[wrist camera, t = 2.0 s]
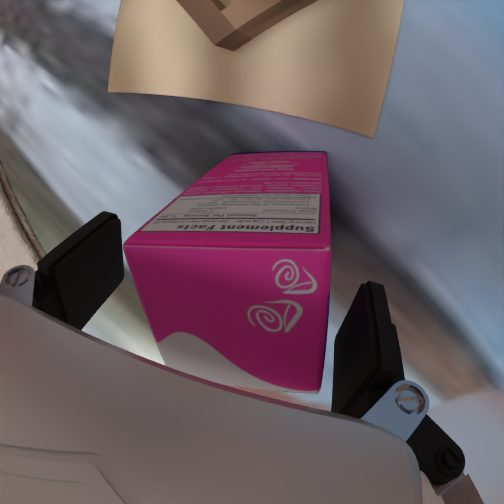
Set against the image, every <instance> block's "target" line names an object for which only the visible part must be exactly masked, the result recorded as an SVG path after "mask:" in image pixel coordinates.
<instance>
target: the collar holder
mask: <svg viewBox="0 0 504 504" xmlns="http://www.w3.org/2000/svg"><path fill="white" fill-rule="evenodd" d="M403 4H404V0H121V2H120V7H119V13H118V18H117V24H116V30H115V36H114V43H113V50H112V58H111V66H110V76H109V86H108V92H125V93H144V94H158V95H170V96H180V97H189V98H197V99H205V100H212V101H219V102H226V103H232V104H238V105H244V106H249V107H254V108H260V109H265V110H270V111H274V112H279V113H284V114H288V115H292V116H297V117H301V118H305V119H309V120H313V121H317V122H321V123H324V124H328V125H332V126H335V127H339V128H342V129H346V130H349V131H352V132H356V133H359V134H362V135H365V136H368V137H371V138H374V134H375V131H376V127H377V123H378V120H379V116H380V112H381V108H382V104H383V100H384V96H385V92H386V88H387V84H388V80H389V75H390V71H391V66H392V62H393V57H394V53H395V48H396V43H397V38H398V33H399V27H400V22H401V16H402V10H403Z"/></svg>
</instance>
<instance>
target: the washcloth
mask: <svg viewBox="0 0 504 504" xmlns="http://www.w3.org/2000/svg"><path fill="white" fill-rule="evenodd" d="M45 255H46V254H45V251H44V249H43V248H42V246H41V245H40V243H39V241H38V240H37V238H36V235H35V234H34V232H33V230H32V228H31V226H30V224H29V223H28V221H27V219H26V216H25V215H24V214H23V211H22V209H21V208H20V205H19V203H18V201H17V200H16V197H15V195H14V193H13V190H12V189H11V187H10V185H9V183H8V181H7V177H6V175H5V172H4V170H3V167H2V165H1V162H0V280H2V277H3V275H4V274H5V273H6V272H7V271H8V270H9V269H11V268H13V267H15V266H19V265H28V266H31V267H32V268H33V269H34V270H35V271H36V270H38V267H37V262H38V261H39V260H41V259H42V258H43V257H44V256H45Z"/></svg>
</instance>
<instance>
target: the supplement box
mask: <svg viewBox="0 0 504 504" xmlns="http://www.w3.org/2000/svg"><path fill="white" fill-rule="evenodd" d="M123 250H124V253H125V256H126V260H127V263H128V266H129V269H130V272H131V275H132V278H133V281H134V284H135V286H136V289H137V292H138V295H139V298H140V301H141V304H142V307H143V310H144V312H145V315H146V318H147V320H148V323H149V325H150V328H151V330H152V333H153V336H154V338H155V341H156V343H157V346H158V348H159V351H160V353H161V355H162V358H163V360H164V362H165V365H166V366H168V367H170V368H173V369H176V370H179V371H182V372H185V373H188V374H191V375H194V376H197V377H200V378H203V379H206V380H209V381H212V382H215V383H219V384H223V385H232V386H239V387H248V388H255V389H264V390H272V391H283V392H293V393H309V394H317V393H319V391H320V389H321V384H322V378H323V369H324V361H325V352H326V342H327V330H328V316H329V299H330V275H331V226H330V199H329V180H328V164H327V153H326V152H324V151H281V152H252V153H237V154H231V155H230V156H229V157H227V158H226V159H225V160H223V161H222V162H221V163H220V164H218V165H217V166H216V167H214V168H213V169H212V170H210V171H209V172H208V173H206V174H205V175H204V176H203V177H201V178H200V179H199V180H197V181H196V182H195V183H194V184H192V185H191V186H190V187H189V188H187V189H186V190H185V191H184V192H182V193H181V194H180V195H179V196H178V197H176V198H175V199H174V200H173V201H172V202H171V203H169V204H168V205H167V206H166V207H165V208H163V209H162V210H161V211H160V212H159V213H157V214H156V215H155V216H154V217H152V218H151V219H150V220H149V221H147V222H146V223H145V224H144V225H143V226H142V227H140V228H139V229H138V230H137V231H136V232H135V233H134V234H132V235H131V236H130V237H129V238H128V239H127V240H126V241H125V242H124V244H123Z"/></svg>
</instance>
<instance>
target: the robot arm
mask: <svg viewBox="0 0 504 504" xmlns="http://www.w3.org/2000/svg"><path fill="white" fill-rule="evenodd" d="M37 267H38V270H36V271H35V270H34V269H33V268H32V267H31V266H28V265H19V266H15V267H13V268H11V269H9V270H8V271H7V272H6V273H5V274H4V275H3V277H2V280H1V284H0V504H484V503H483V501H482V499H481V497H480V495H479V493H478V491H477V489H476V487H475V485H474V483H473V482H472V480H471V478H470V476H469V474H467V475H464V473H463V470H464V467H465V457H464V454H463V452H462V450H461V448H460V447H459V446H458V445H457V444H456V443H455V442H454V441H453V440H452V439H451V438H450V437H449V436H448V435H447V434H446V433H445V432H444V431H443V430H442V429H441V428H440V427H439V426H438V425H437V424H436V423H435V422H434V421H433V420H432V419H431V418H430V417H429V416H428V415H427V412H428V409H429V399H428V396H427V394H426V392H425V391H424V390H423V388H422V387H421V386H419V385H418V384H416V383H415V382H412V381H408V380H405V377H404V370H403V364H402V358H401V352H400V346H399V341H398V335H397V330H396V327H395V325H394V324H393V323H391V318H390V312H389V308H388V303H387V298H386V293H385V289H384V285H383V284H379V283H376V282H372V281H368V282H367V283H366V284H364V283H362V284H361V286H360V288H359V290H358V292H357V294H356V296H355V298H354V300H353V303H352V305H351V307H350V309H349V311H348V313H347V315H346V317H345V319H344V321H343V323H342V325H341V327H340V329H339V331H338V333H337V335H336V338H335V342H334V370H333V391H332V407H331V412H330V411H326V410H321V409H316V408H311V407H307V406H302V405H298V404H294V403H290V402H285V401H281V400H277V399H273V398H269V397H265V396H261V395H257V394H253V393H249V392H246V391H243V390H239V389H235V388H232V387H229V386H225V385H222V384H219V383H215V382H212V381H209V380H206V379H203V378H200V377H197V376H194V375H191V374H188V373H185V372H182V371H179V370H176V369H173V368H170V367H168V366H165V365H162V364H159V363H157V362H154V361H151V360H149V359H146V358H144V357H141V356H139V355H136V354H134V353H131V352H129V351H126V350H124V349H121V348H119V347H117V346H114V345H112V344H110V343H107V342H105V341H103V340H101V339H98V338H96V337H94V336H92V335H89V334H87V333H85V332H83V331H81V330H82V328H83V327H84V326H85V325H86V324H87V322H88V321H89V320H90V319H91V317H92V316H93V315H94V314H95V313H96V311H97V310H98V309H99V308H100V307H101V305H102V304H103V303H104V302H105V301H106V300H107V298H108V297H109V296H110V295H111V294H112V292H113V291H114V290H115V289H116V288H117V287H118V286H119V284H120V283H121V282H122V280H123V278H124V265H123V252H122V237H121V221H120V219H118V216H117V215H116V214H113V213H109V212H106V211H103V212H101V213H100V214H98V215H97V216H96V217H94V218H93V219H92V220H90V221H89V222H87V223H86V224H85V225H83V226H82V227H81V228H79V229H78V230H77V231H76V232H74V233H73V234H72V235H70V236H69V237H68V238H67V239H65V240H64V241H63V242H61V243H60V244H59V245H58V246H56V247H55V248H54V249H53V250H52V251H50V252H49V253H48V254H47V255H45V256H44V257H43V258H42V259H41V260H39V261H38V262H37Z"/></svg>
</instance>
